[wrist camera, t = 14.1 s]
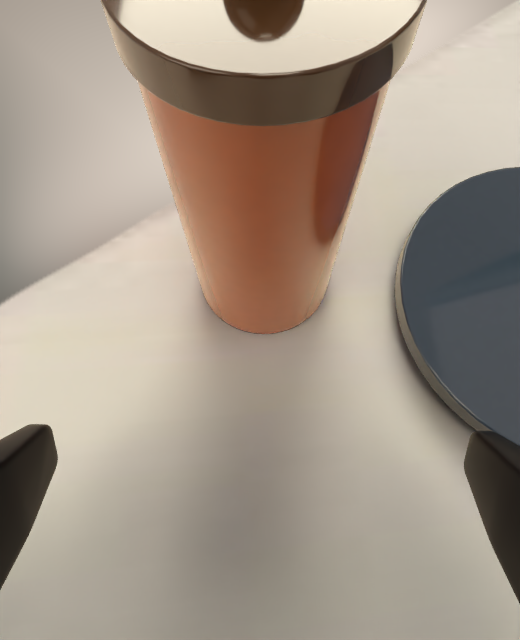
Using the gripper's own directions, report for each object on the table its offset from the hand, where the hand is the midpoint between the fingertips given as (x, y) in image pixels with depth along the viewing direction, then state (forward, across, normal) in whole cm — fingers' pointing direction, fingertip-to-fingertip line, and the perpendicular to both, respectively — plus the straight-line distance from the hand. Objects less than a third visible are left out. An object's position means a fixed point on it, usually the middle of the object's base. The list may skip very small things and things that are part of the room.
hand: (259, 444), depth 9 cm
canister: (+11, 0, -1) cm, 11 cm away
